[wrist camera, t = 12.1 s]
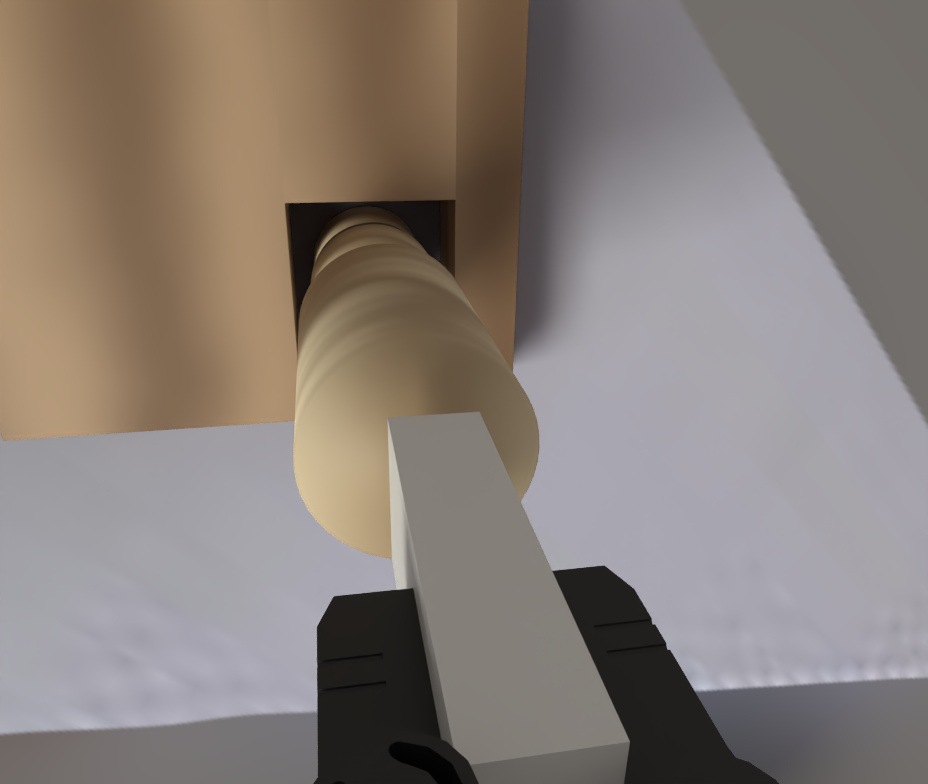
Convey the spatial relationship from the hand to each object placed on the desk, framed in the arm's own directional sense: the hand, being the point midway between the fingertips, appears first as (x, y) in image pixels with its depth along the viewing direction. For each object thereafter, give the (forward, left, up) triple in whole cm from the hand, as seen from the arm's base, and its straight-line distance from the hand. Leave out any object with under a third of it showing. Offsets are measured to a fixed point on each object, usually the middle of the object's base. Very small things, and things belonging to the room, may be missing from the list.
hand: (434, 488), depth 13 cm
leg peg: (0, 0, -15) cm, 15 cm away
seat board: (-4, +2, -15) cm, 16 cm away
